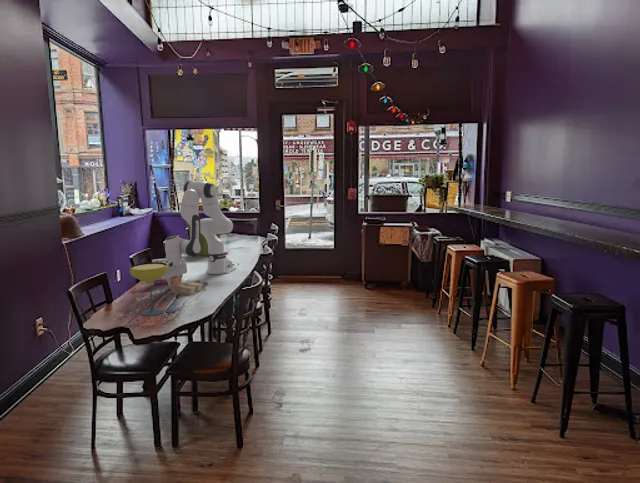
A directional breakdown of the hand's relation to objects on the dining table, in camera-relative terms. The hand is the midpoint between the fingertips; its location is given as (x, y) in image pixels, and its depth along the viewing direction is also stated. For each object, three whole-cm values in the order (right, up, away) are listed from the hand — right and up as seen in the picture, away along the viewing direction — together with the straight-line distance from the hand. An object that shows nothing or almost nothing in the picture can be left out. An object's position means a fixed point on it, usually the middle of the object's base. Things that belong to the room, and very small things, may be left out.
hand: (175, 283), depth 284 cm
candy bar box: (-11, -2, +10) cm, 15 cm away
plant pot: (-8, +15, +109) cm, 110 cm away
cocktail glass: (+4, -11, -48) cm, 49 cm away
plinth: (+11, -4, -9) cm, 15 cm away
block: (0, -3, +1) cm, 3 cm away
